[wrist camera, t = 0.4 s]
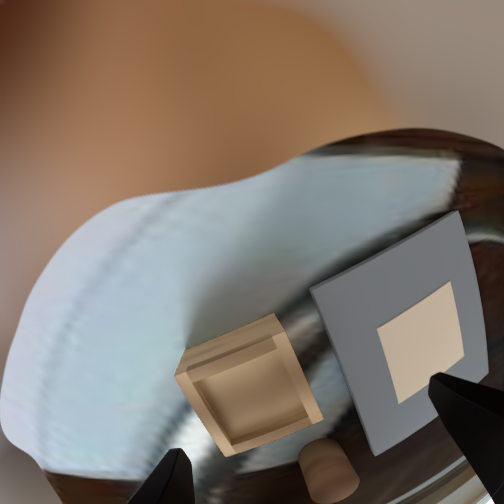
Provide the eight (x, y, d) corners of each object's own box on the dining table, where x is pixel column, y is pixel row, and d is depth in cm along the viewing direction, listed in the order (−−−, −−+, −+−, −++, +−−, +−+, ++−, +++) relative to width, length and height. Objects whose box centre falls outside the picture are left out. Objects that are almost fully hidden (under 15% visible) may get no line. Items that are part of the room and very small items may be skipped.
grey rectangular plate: (482, 370, 23) (488, 373, 22) (371, 450, 22) (375, 456, 21) (451, 211, 22) (458, 210, 21) (308, 288, 21) (312, 290, 20)
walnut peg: (345, 457, 22) (363, 489, 17) (306, 474, 21) (318, 509, 16) (333, 431, 21) (353, 464, 17) (291, 450, 21) (303, 487, 16)
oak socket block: (306, 388, 21) (323, 419, 17) (226, 420, 21) (225, 456, 16) (273, 312, 21) (284, 331, 16) (185, 349, 21) (173, 376, 16)
